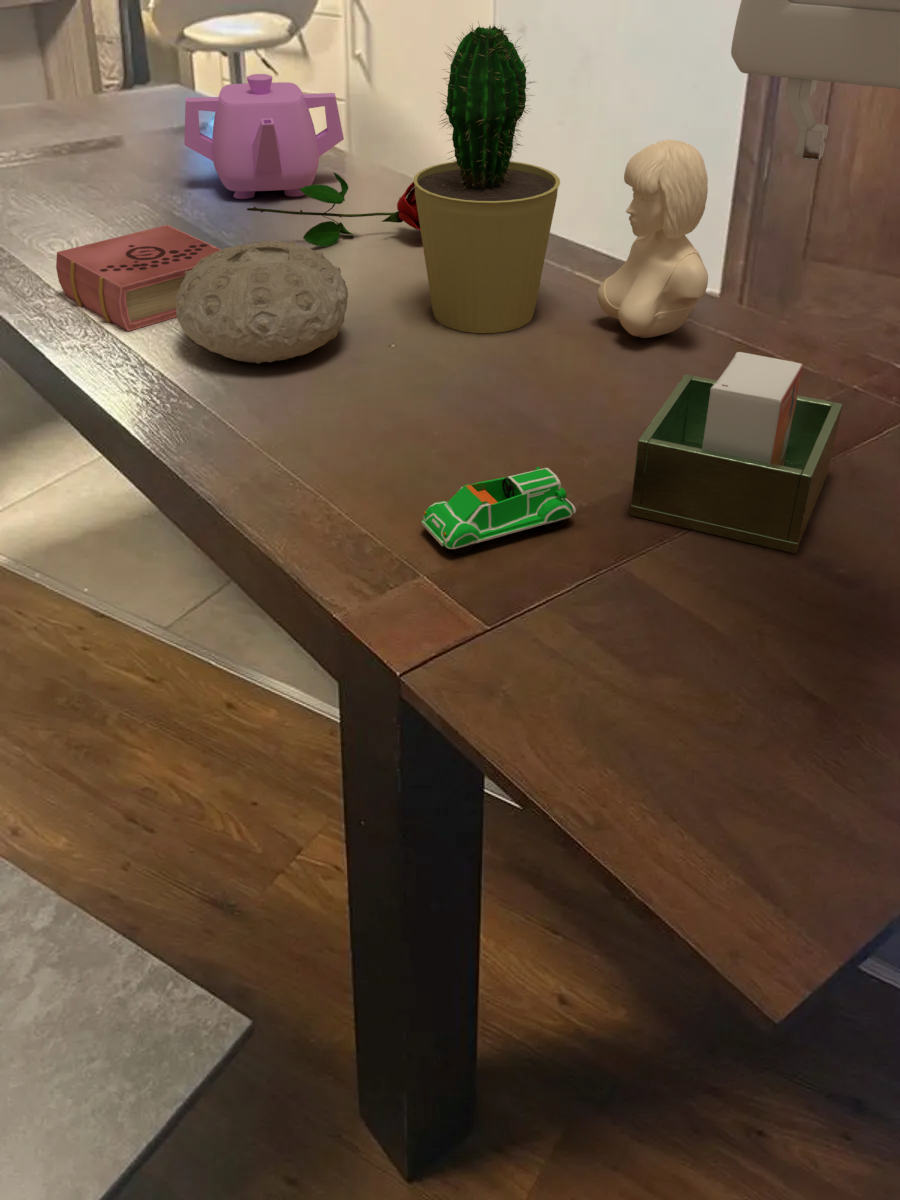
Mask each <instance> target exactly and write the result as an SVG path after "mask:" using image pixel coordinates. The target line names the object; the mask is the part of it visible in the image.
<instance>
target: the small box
mask: <svg viewBox="0 0 900 1200" xmlns="http://www.w3.org/2000/svg"><path fill="white" fill-rule="evenodd" d="M803 367H804V364H803V363H800V362H795V361H791V360H785V359H780V358H775V357H771V356H770V357H769V356H765V355H764V356H763V355H759V354H753V353H748V352H743V351H737V352H736V353H735V354H734V356H733V358H732V359H731V361H730V362H729V364H728V365H727V366H726V368H725V370H724V371H723V372H722V374H721V375H720V377H719V378H718V379H716V380H717V382H716V383H715V384H714V385H713V386H712V387H711V390H710V398H709V405H708V412H707V420H706V426H705V432H704V439H703V446H702V449H704V450H709V451H714V452H719V453H724V454H728V455H733V456H738V457H743V458H748V459H752V460H757V461H762V462H767V463H772V464H776V465H781V466H784V461H785V455H786V450H787V446H788V441H789V436H790V430H791V425H792V419H793V414H794V410H795V405H796V400H797V395H798V393H799V390H800V389H799V388H800V384H801V378H802V374H803Z"/></svg>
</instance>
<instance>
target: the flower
mask: <svg viewBox="0 0 900 1200" xmlns="http://www.w3.org/2000/svg"><path fill="white" fill-rule="evenodd" d="M333 174H334V177H335V179H336V180H337V181H338V182H339V184H340V188H341V191H338V190H337V189H336V188H333V187H332V186H329V185H327V184H312V185H310V186H306V187H303V188H300V189H299V190H301V191H302V192H303V193H304V194H305V196H306V197H309V198H311V199H312V200H316V201H319V202H321V203H325V204H326V203H327V204H332V206H331V207H330V208H329V209H328V210H326V211H325V212H313V211H311V212H310V211H303V210H302V209H300V211H293V210H283V209H282V210H281V209H272V208H260V207H256V206H253V207H247V208H246V211H251V212H260V213H265V212H267V213H275V214H289V215H300V216H322V217H323V218H325V219H328V221H324V222H320V223H318V224H315V225H314V226H312V227H310V228H309V229H308V230H307V231H305V233H304V235H303V237H302V239H303V240H305V242H307V243H309V244H310V245H312V246H317V247H323V248H326V247H331V246H333V245H334V244H336V243H338V241H339V239H340V237H341V236H340V235H341V234H343V235H352V236H355V234H354V233H352V232H351V231H349V230H348V229H347V228H346V227H345V225H344V224H343V223H342V222H341V221H340V222H338V221H337V220H335V219H333V218H330V217H338V218H341V219H342V218H362V217H375V216H376V217H377V216H387V217H386V218H384V219H382V220H381V221H380V222H382V223H396V224H397V223H398V224H399V223H403V222H404V223H405V224H407V225H408V226H409V227H412V228H413V229H416V230H418V231H419V232H421V229H420V223H419V216H418V210H417V203H416V197H415V184H414V182H413V181H412V182H411V183H410V184H409V185H408V186H407V188H406V189H405V192H404V193H403V194H402V195H401V196H400V197H398V201H397V203H396V209H397V211H395V212H370V213H353V214H352V213H351V214H350V213H335V212H334V213H333V212H332V213H331V212H330V211H331V210H333V208H334V207H335V205H341V204H343V203H344V202H345V201H346V199H345V196H346V194H347V193H348V190H349V185H348V183H347V182H346V180H345V179H344V178H342V176H341V175H339V174H338V173H336V172H334V171H333Z"/></svg>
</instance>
